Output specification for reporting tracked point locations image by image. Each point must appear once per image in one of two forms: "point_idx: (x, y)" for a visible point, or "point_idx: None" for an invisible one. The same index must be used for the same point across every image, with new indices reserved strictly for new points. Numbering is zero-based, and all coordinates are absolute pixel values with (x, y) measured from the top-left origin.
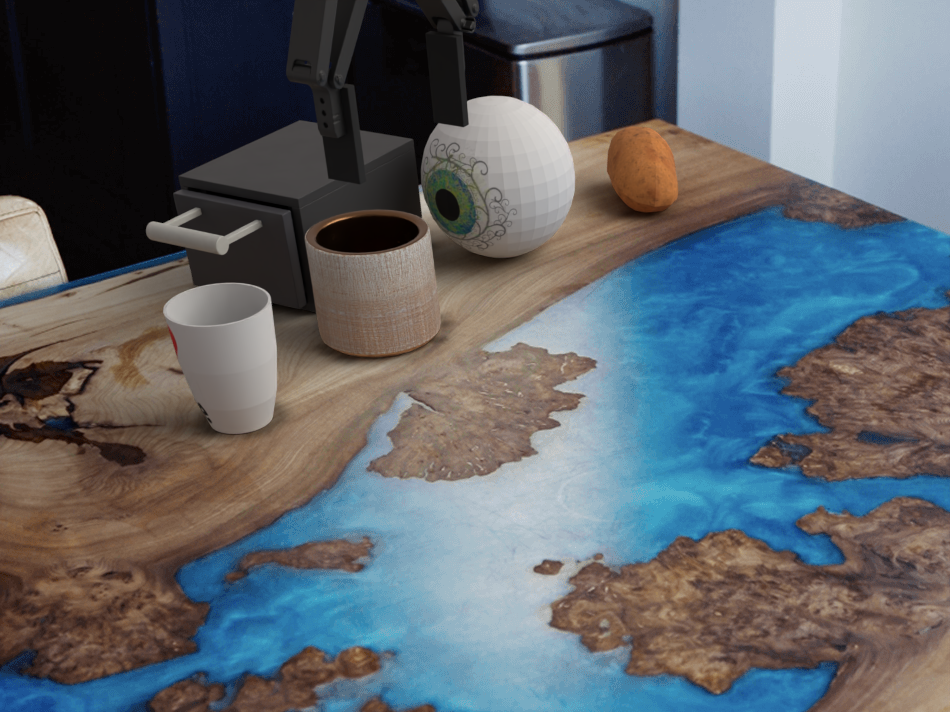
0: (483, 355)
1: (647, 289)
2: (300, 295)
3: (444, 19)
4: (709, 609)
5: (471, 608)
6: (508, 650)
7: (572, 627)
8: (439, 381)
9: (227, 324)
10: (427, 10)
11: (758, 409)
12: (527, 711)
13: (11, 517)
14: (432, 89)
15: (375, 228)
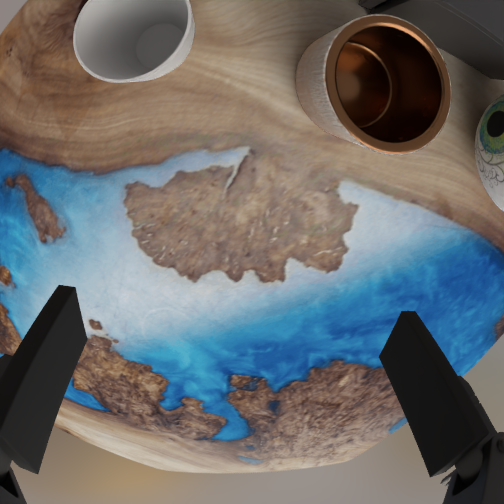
0: (331, 186)
1: (443, 260)
2: (368, 4)
3: (475, 474)
4: (110, 381)
5: None
6: None
7: None
8: (277, 169)
9: (86, 70)
10: (472, 497)
11: (290, 365)
12: None
13: (12, 18)
14: (425, 356)
15: (430, 75)
